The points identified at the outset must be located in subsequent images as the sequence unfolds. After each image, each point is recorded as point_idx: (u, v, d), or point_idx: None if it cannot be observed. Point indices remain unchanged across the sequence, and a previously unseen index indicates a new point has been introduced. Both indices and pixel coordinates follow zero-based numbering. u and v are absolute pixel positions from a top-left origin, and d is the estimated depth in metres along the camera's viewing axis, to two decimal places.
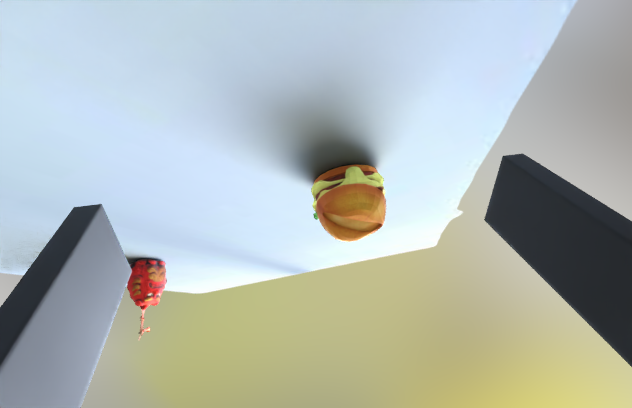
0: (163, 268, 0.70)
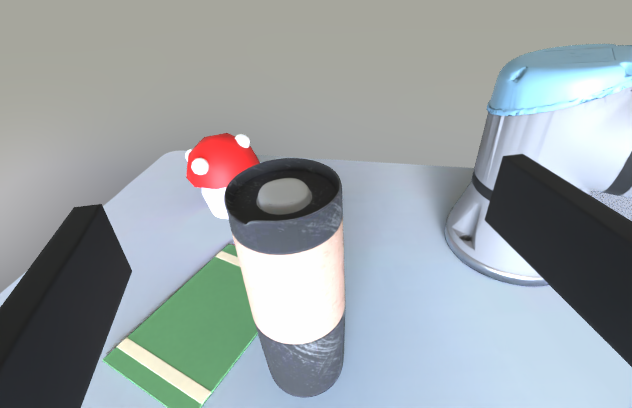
0: None
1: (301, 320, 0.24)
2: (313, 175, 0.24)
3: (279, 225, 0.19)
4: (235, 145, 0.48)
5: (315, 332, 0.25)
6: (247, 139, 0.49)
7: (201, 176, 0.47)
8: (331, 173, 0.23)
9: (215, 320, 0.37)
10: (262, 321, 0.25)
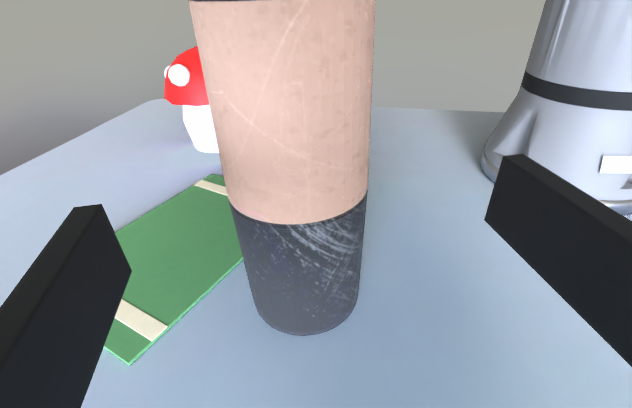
0: None
1: (302, 173, 0.14)
2: None
3: None
4: None
5: (323, 203, 0.15)
6: None
7: (180, 89, 0.38)
8: None
9: (185, 247, 0.28)
10: (239, 186, 0.16)
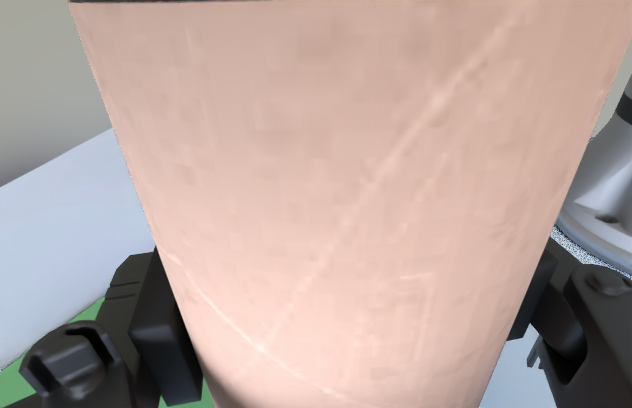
0: None
1: None
2: None
3: None
4: None
5: None
6: None
7: None
8: None
9: None
10: None
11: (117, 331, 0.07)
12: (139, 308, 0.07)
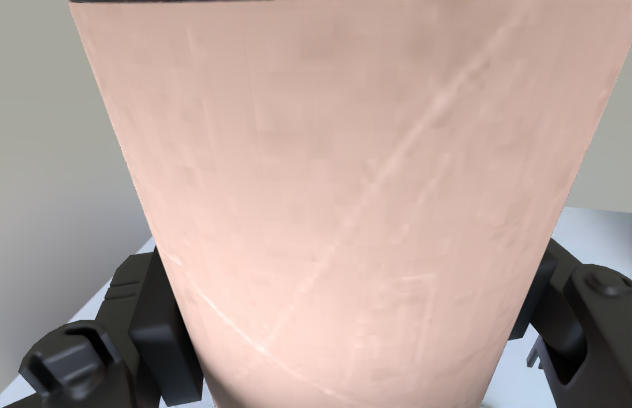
0: None
1: None
2: None
3: None
4: None
5: None
6: None
7: None
8: None
9: None
10: None
11: (117, 331, 0.07)
12: (139, 308, 0.07)
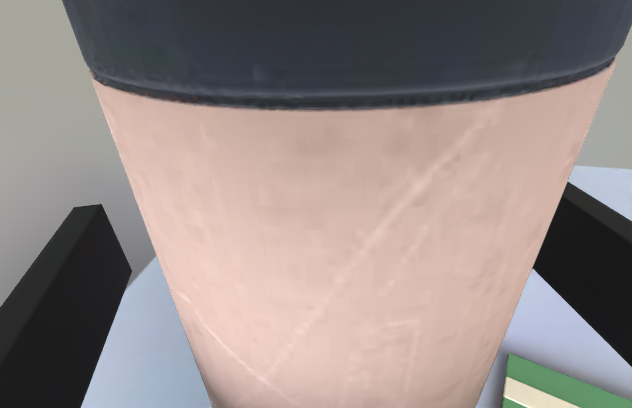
0: None
1: None
2: None
3: None
4: None
5: None
6: None
7: None
8: None
9: None
10: None
11: None
12: None
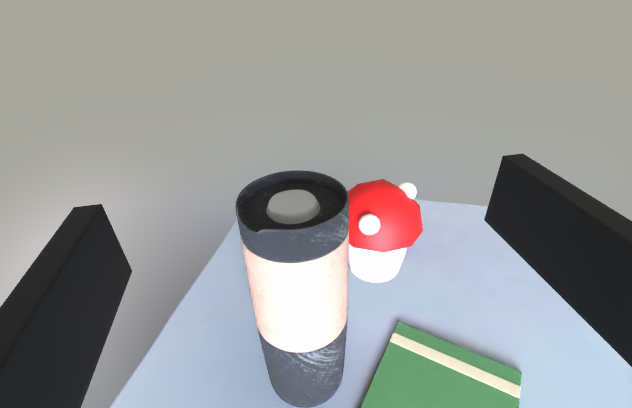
0: None
1: (305, 329, 0.24)
2: (320, 188, 0.25)
3: (289, 234, 0.20)
4: (404, 197, 0.39)
5: (318, 341, 0.25)
6: (415, 189, 0.40)
7: (367, 236, 0.38)
8: (338, 186, 0.24)
9: None
10: (266, 329, 0.25)
11: None
12: None
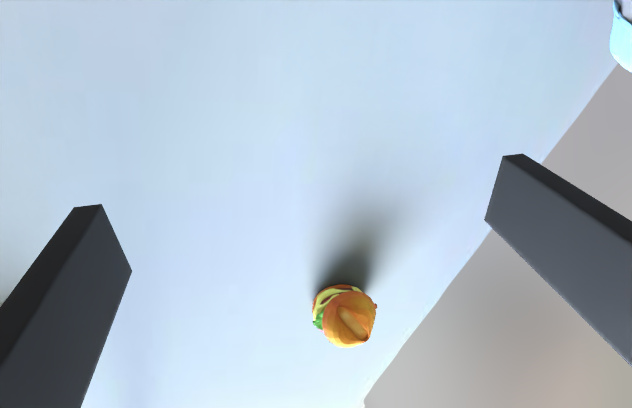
0: None
1: None
2: None
3: None
4: None
5: None
6: None
7: None
8: None
9: None
10: None
11: None
12: None
